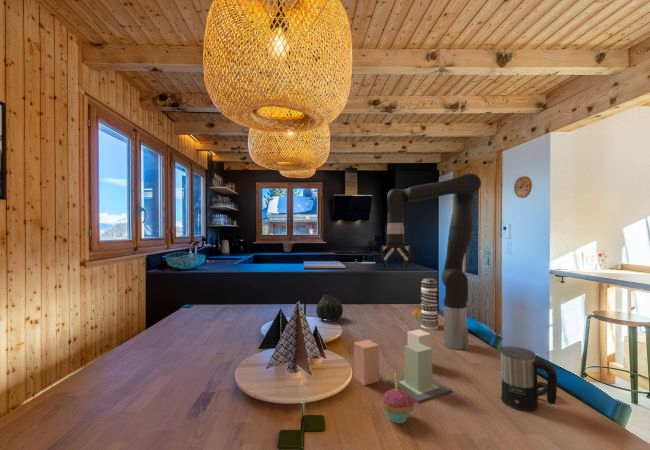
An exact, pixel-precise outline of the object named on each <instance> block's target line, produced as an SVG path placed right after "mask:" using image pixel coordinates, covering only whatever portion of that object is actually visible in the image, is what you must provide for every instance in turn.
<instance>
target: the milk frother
mask: <svg viewBox="0 0 650 450" xmlns="http://www.w3.org/2000/svg"><path fill="white" fill-rule="evenodd" d="M498 351H499V353H500V367H501V368H500V370H501V371H500V373H501V374H500V375H501V396H500V400H501V401H502V402H503V403H504V405H506V406H509V407H510V408H513V409H516V410H520V411H526V412H531V411H532V412H533V411H535V410H537V409H538V407H539V405H538V403H539V397H542V396H543V395H545V394H546V398H547V402H548V404H550V405H554V404H556V402H557V393H558V391H557V389H558V374H557V371H556V369H555V367H554V366H553V365H552V364H551V363H550V362H548V361H545V360H543V359H539V358H536V357H537V354H536V352H534V351H533V350H530V349H528V348H523V347H520V346H511V345H509V346H507V345H506V346H505V345H504V346H502V347H499V348H498ZM539 369H540V370H543V372H546V374H547V383H546V382H543V381H538V371H537V370H539ZM539 389H540V390H539Z"/></svg>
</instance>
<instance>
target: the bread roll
mask: <svg viewBox="0 0 650 450" xmlns="http://www.w3.org/2000/svg"><path fill="white" fill-rule="evenodd" d="M421 312H422V309H415V310H414V311H413V312H412V316H413V317H415V318H418V319H422V317H421Z"/></svg>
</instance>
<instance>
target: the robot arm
mask: <svg viewBox="0 0 650 450" xmlns="http://www.w3.org/2000/svg"><path fill="white" fill-rule="evenodd" d="M481 185H482V181H481V178H480V177H479V176H478V175H477V174H475V173H473V172H472V173H464V174H463V175H460V176H457V177H455V178H454V177H453V178H451V179H447V180H442V181H437V182H431V183H425V184H418V185H413V186H409V187H408V188H402V189H398V188H393V189H390V190H389V191H388V192H387V195H386V197H387V198H386V200H387V202H386V203H387V217H386V218H387V224H386V225H387V226H386V245H385V246H384V245H380V247H379V259H381V260H382V261H383V267H384V268H385V269H386V270H387V269H388V259H389V257H390V256H401V257H402V258H403V260H404V270H407V268H408V267H409V266H408V265H409V260H412V259H413V253H412V252H413V251H412V246H411V245H405V227H404V212H403V208H404V204H407V203H408V204H409V203H412V202H413V203H414V202H421V201H427V200H430V199H435V198H438V197H444V196H448V195H453V194H454V201H453V210H452V213H451V219H450V224H449V230H448V238H447V248H446V257H445V261H444V265H443V270H442V274H441V281H442V283H443V286H445V291H444V294H445V296H444V298H443V342H444V343H443V344H444V346H445V347H447V348H450V349H453V350H464V349H465V350H467V349H469V326H468V324H467V321H468V320H467V318H468V317H467V316H468V315H467V304H468V299H469V280H468V277H467V275H466V274H465V272H463V265H464V264H463V263H464V258H465V255H466V253H467V251H468V249H469V247H470V245H471V244H470V243H471V241H472V236H473V235H472V234H473V227H474V226H473V225H474V223H473V213H472V204H473V200H474V196H475V193H477V192H478V191H479V190H480V188H481ZM405 249H406V251H407V252H408V256H406V254H405V253H404V251H405ZM385 250H387V254H386V255H385V256H384V251H385Z"/></svg>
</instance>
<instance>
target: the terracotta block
mask: <svg viewBox="0 0 650 450" xmlns="http://www.w3.org/2000/svg"><path fill="white" fill-rule="evenodd" d="M353 361H354V363H353V370H354V371H353V375H354V377H353V378H354V379H355V380H357V382H360V384H362V385H363V386H367V385H370V384H374V383H376V382H377V383H378V382H380V345H379V344H378V343H376V342H374V341H372V340H370V339H365V340H360V341H355V342H353Z"/></svg>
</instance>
